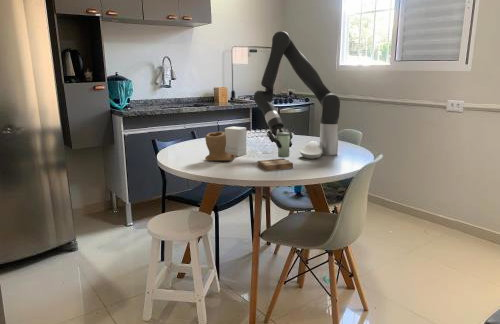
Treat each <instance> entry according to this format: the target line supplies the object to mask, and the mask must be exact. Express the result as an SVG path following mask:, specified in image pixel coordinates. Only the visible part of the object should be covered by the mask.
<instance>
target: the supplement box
mask: <svg viewBox="0 0 500 324" xmlns="http://www.w3.org/2000/svg"><path fill="white" fill-rule="evenodd" d="M224 133H225V135H226V147H225V151H226V153H231V154H236V156H235V157H241V156H244V155H247V127H243V126H234V125H233V126H229V127H225V128H224Z"/></svg>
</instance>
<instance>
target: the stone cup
mask: <svg viewBox="0 0 500 324" xmlns="http://www.w3.org/2000/svg"><path fill="white" fill-rule="evenodd" d="M205 144H206V148H207V150H208V152H209V153H208V155H206V156H205V157H204V158H205V160H206V161H211V162H217V161H218V162H230V161H231V162H232V161H233V160H235V158H236V157H237V156H236V154H231V153H226V151H225V147H226V135H225V131H215V132H209V133H207V134H206V135H205Z"/></svg>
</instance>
